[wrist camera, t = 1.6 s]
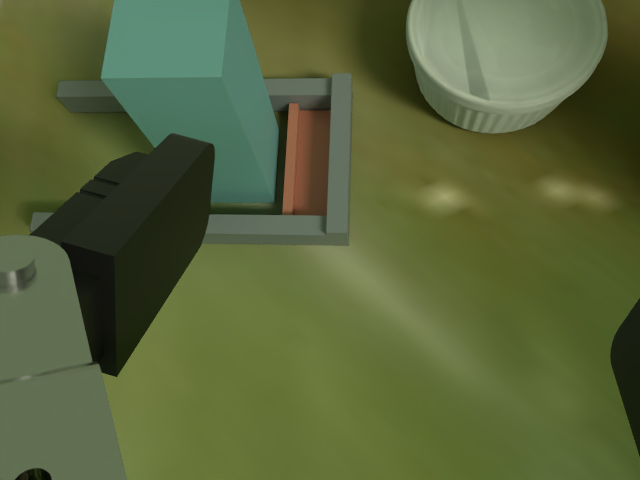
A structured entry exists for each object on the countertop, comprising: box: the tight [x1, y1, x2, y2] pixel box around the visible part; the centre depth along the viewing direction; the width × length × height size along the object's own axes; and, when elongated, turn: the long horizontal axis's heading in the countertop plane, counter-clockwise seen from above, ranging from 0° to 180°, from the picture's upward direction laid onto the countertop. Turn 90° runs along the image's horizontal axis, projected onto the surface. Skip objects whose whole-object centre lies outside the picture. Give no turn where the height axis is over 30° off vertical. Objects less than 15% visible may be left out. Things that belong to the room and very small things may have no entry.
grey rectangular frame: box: [30, 73, 353, 246], centre depth 36 cm, size 19×10×2 cm, turn 88°
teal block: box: [101, 0, 280, 203], centre depth 31 cm, size 5×5×14 cm
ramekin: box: [406, 0, 608, 134], centre depth 36 cm, size 11×11×5 cm
